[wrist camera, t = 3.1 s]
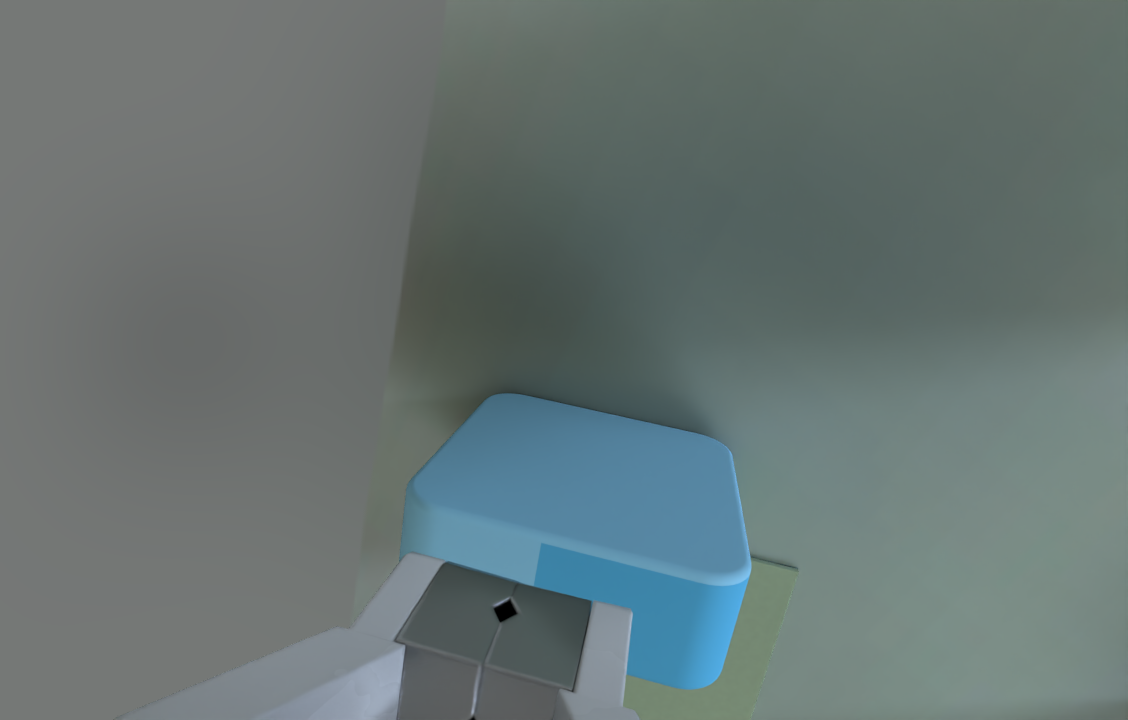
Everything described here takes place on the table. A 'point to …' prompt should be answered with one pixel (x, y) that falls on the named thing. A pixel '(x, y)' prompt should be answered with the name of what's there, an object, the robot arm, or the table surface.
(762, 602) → the mat
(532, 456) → the data package
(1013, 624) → the table surface
